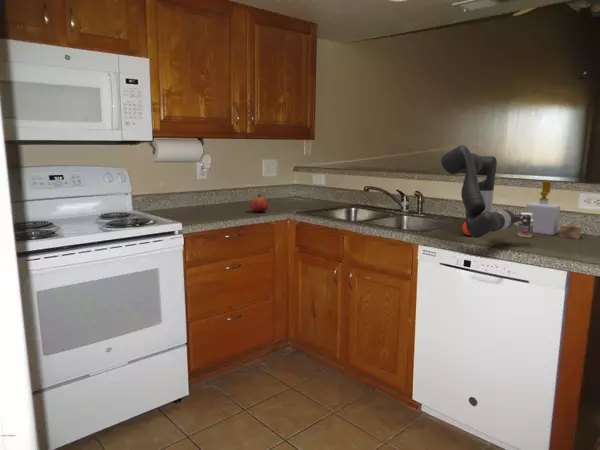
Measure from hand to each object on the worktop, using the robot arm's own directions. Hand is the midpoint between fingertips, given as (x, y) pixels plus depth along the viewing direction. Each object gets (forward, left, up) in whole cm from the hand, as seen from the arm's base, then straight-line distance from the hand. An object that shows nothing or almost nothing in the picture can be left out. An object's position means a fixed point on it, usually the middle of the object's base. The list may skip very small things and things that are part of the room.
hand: (516, 215), depth 182 cm
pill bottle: (+2, +11, -10) cm, 15 cm away
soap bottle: (+6, +24, -10) cm, 27 cm away
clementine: (-17, -2, -10) cm, 20 cm away
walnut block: (+18, +21, -10) cm, 29 cm away
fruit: (-134, -6, -10) cm, 135 cm away
